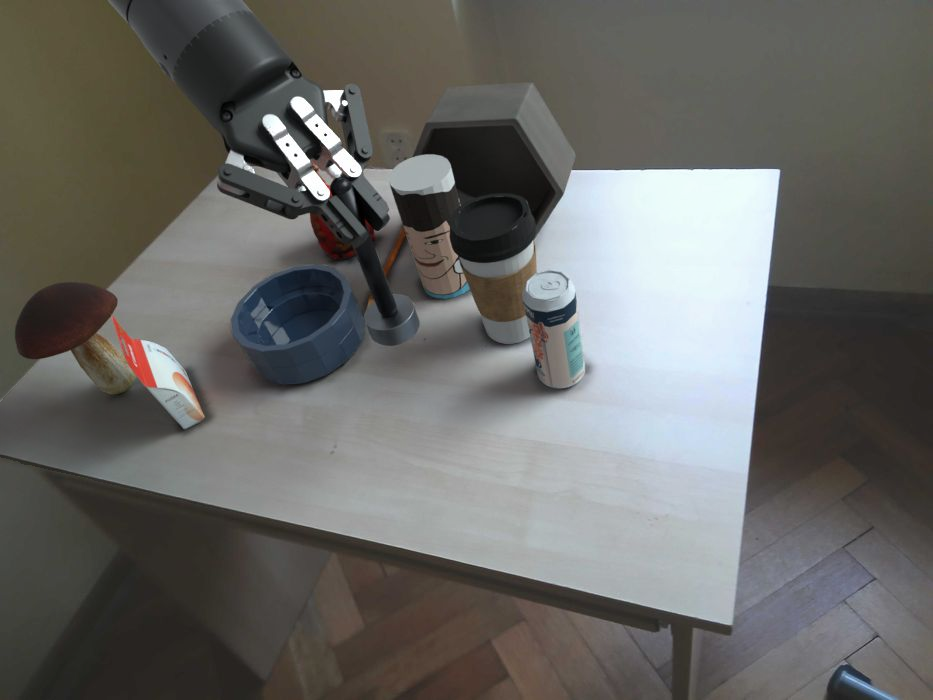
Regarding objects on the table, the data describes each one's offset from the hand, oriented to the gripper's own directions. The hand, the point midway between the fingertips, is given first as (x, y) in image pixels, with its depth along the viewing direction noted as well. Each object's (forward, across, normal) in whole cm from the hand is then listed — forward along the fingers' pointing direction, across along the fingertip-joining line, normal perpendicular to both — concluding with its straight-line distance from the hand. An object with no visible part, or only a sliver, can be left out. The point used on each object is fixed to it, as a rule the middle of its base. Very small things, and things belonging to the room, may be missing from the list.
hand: (373, 232), depth 52 cm
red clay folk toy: (-5, +15, +40) cm, 43 cm away
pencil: (0, +15, +34) cm, 37 cm away
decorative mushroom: (-9, -18, +43) cm, 47 cm away
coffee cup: (+15, +14, +20) cm, 28 cm away
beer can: (+21, +12, +13) cm, 27 cm away
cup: (+7, +16, +28) cm, 33 cm away
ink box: (-2, -14, +37) cm, 40 cm away
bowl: (+2, 0, +33) cm, 33 cm away
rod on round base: (+6, 0, +9) cm, 11 cm away
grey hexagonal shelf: (+6, +27, +28) cm, 39 cm away
